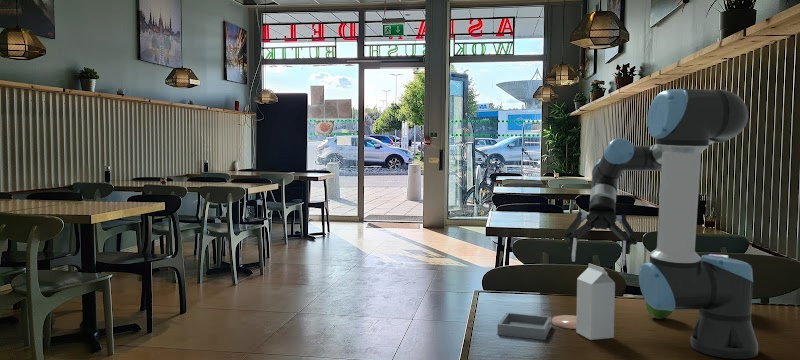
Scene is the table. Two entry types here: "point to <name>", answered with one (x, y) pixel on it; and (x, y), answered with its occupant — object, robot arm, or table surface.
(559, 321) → the peach flat disc
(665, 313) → the avocado
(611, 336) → the milk carton
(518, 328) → the square tray
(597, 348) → the table surface
